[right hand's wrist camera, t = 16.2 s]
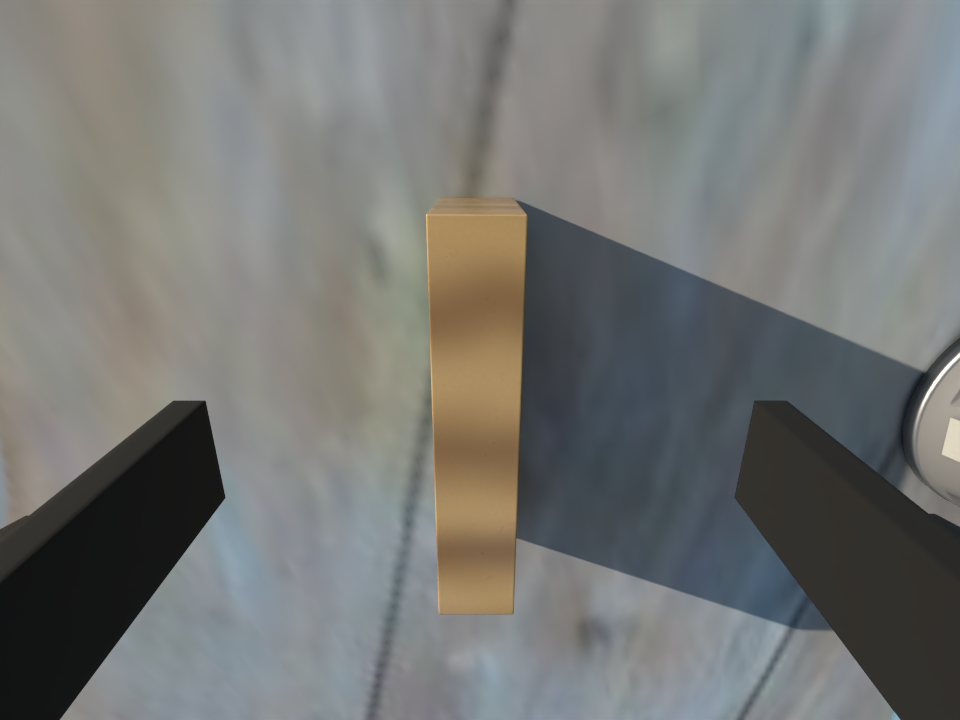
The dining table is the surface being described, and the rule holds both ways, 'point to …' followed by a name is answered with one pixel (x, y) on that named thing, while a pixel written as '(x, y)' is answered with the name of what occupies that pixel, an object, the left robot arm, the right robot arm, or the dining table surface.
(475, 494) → the bar
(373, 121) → the dining table surface
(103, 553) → the right robot arm
